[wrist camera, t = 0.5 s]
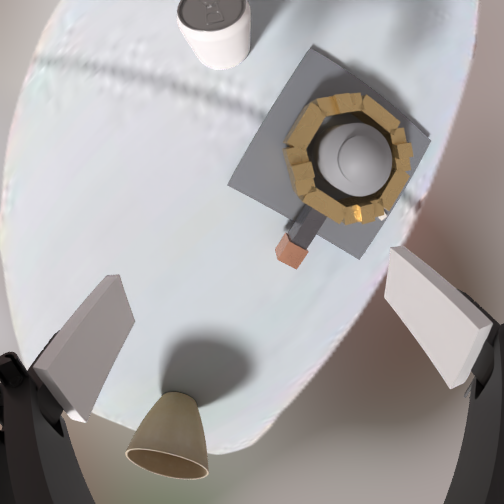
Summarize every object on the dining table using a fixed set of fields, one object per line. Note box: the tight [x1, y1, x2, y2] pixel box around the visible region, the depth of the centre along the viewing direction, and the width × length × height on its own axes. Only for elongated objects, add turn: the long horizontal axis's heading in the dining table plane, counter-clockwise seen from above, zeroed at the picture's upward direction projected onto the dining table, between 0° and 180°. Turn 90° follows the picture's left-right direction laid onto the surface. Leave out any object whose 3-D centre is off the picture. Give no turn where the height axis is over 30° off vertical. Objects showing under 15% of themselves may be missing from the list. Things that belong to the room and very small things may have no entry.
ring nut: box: [275, 93, 414, 269], centre depth 28 cm, size 21×14×4 cm, turn 151°
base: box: [228, 48, 431, 260], centre depth 27 cm, size 20×20×8 cm
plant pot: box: [125, 392, 209, 479], centre depth 41 cm, size 15×15×16 cm
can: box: [177, 0, 251, 70], centre depth 20 cm, size 6×6×12 cm
